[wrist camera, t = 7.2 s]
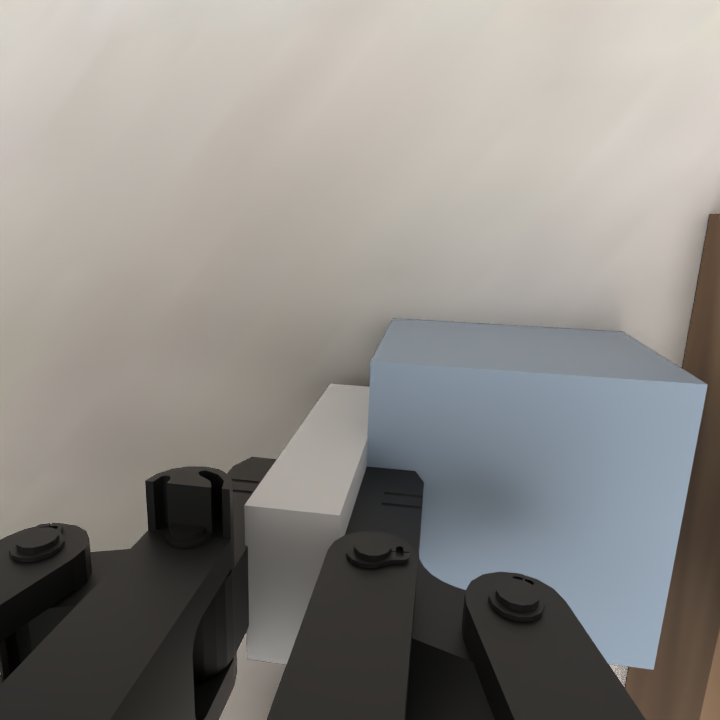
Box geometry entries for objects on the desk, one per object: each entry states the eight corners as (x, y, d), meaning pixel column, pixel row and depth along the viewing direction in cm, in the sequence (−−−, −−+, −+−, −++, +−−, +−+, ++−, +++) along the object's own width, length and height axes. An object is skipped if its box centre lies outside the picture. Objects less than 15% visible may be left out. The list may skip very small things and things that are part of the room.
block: (383, 515, 17) (359, 630, 12) (393, 318, 16) (370, 361, 11) (592, 537, 16) (653, 669, 12) (622, 331, 15) (707, 384, 10)
